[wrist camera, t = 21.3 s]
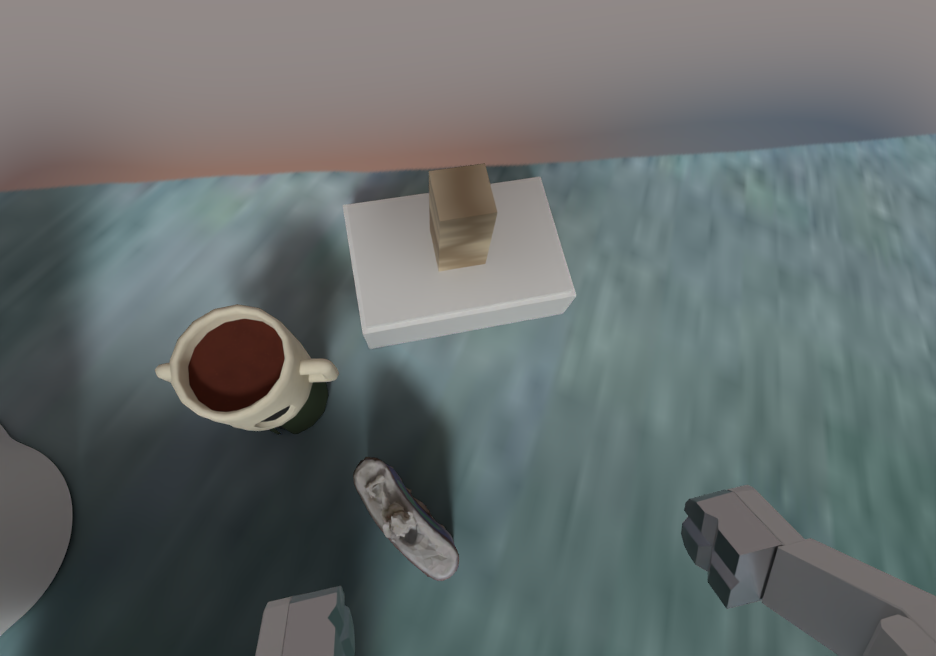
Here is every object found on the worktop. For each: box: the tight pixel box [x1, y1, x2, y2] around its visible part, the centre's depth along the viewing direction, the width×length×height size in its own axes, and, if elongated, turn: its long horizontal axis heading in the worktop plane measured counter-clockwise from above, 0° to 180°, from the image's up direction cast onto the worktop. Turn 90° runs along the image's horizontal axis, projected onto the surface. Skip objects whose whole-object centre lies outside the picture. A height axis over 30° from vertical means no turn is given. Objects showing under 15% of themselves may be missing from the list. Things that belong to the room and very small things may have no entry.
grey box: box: [343, 177, 576, 349], centre depth 43 cm, size 18×12×5 cm, turn 102°
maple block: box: [429, 164, 498, 271], centre depth 37 cm, size 4×4×8 cm
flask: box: [353, 457, 459, 581], centre depth 33 cm, size 9×3×11 cm, turn 43°
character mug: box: [155, 304, 339, 434], centre depth 34 cm, size 11×7×13 cm, turn 93°
